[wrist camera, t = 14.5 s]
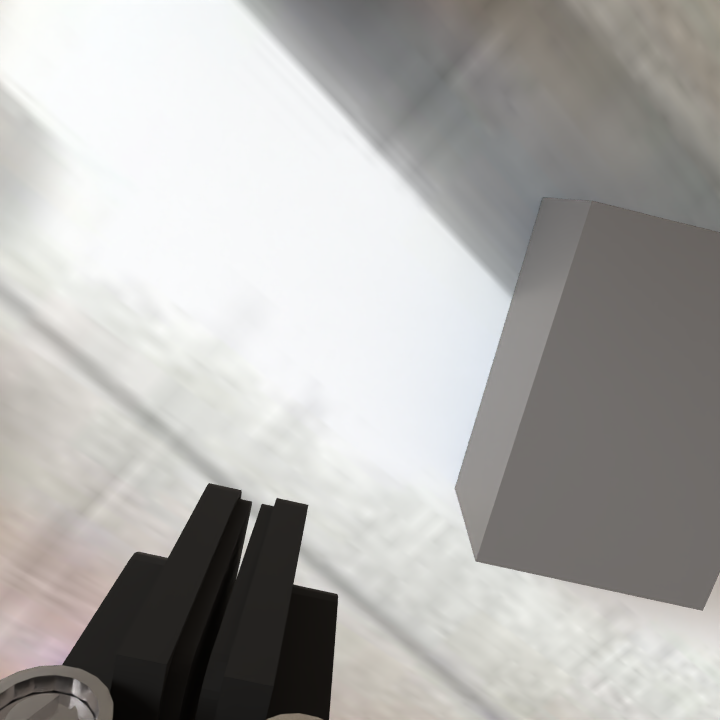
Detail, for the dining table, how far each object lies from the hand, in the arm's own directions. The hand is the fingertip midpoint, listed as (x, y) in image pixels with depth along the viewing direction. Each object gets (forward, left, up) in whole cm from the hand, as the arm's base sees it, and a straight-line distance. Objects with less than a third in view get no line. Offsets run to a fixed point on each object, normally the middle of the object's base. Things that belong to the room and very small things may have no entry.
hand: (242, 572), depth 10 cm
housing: (+1, +16, -27) cm, 31 cm away
